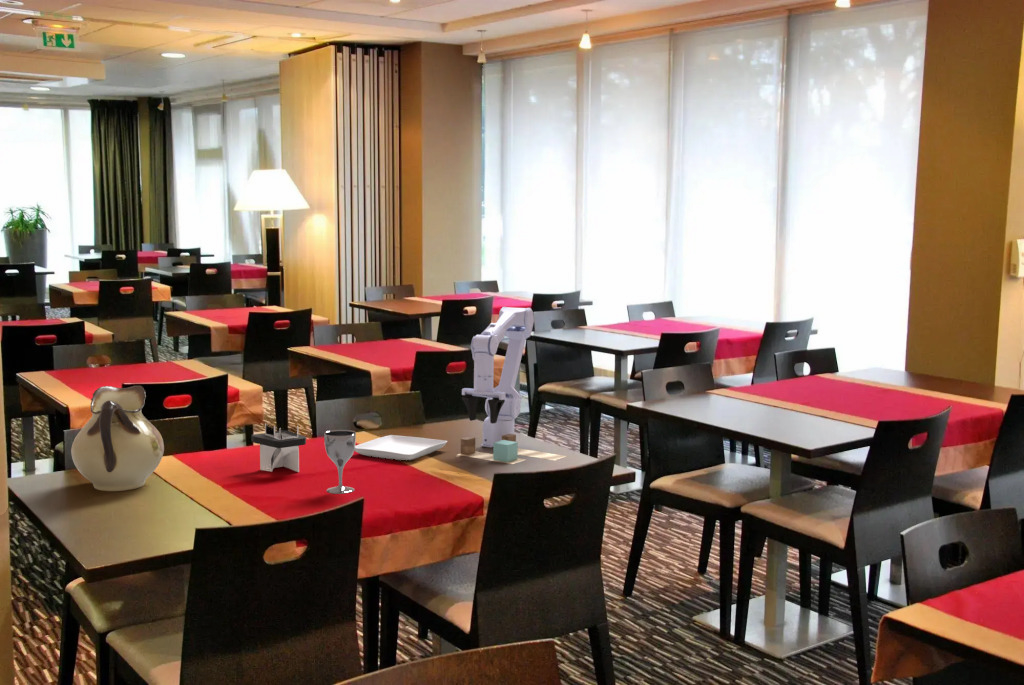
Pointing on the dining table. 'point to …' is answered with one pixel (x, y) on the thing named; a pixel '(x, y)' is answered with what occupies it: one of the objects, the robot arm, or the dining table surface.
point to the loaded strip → (469, 451)
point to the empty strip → (532, 453)
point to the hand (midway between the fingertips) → (483, 421)
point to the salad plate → (399, 447)
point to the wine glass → (340, 453)
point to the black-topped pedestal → (279, 448)
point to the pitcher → (117, 441)
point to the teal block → (505, 451)
